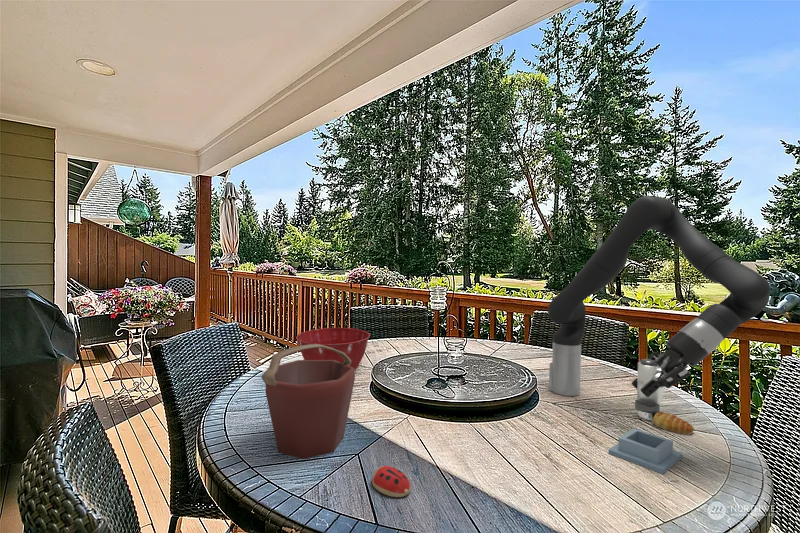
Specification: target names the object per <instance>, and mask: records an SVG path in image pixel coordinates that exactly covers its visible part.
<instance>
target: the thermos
mask: <svg viewBox="0 0 800 533" xmlns="http://www.w3.org/2000/svg"><path fill="white" fill-rule="evenodd" d="M658 369H659V365H658V364H656V361H654V360H650V359H648V358H642V359H640V361H638V362H637V375H636V376H637V377H636V378H637V389H636V400H634V408H635V409H636V410H637V411H638V412H639V411H642V412H646V413H659V412H660V404H659V403H658V389H657V390H656V391H655V392H654V393H653V394H652V395H650V396H649V397H646V396H645V395H644V394H643V393H642V392H641V388H643V387H644V386H645V385H646V384H647V383H648V382H649V381H651V380H653V378H654V377H655V376H656V374H657V373H658V372H657V370H658ZM653 381H654V380H653Z"/></svg>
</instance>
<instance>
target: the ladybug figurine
mask: <svg viewBox="0 0 800 533" xmlns="http://www.w3.org/2000/svg"><path fill="white" fill-rule="evenodd" d="M371 483H372V486H373V488H374V489H376V490H377V491H378V492H379V493H381V494H383V495H385V496H388V497H392V498H404V497H406V496H408V495H409V494H410V492H411V489H412V488H411V483H410V481H409V479H408V477H407V476H406V474H405V473H403V471H401V470H399V469H397V468H396V467H392V466H390V465H389V466H387V465H382V466H380V467H378V468H377V469H376V470H375V471H374V472H373V475H372V478H371Z"/></svg>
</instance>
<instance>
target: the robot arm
mask: <svg viewBox="0 0 800 533" xmlns="http://www.w3.org/2000/svg"><path fill="white" fill-rule="evenodd" d="M648 230H649V231H650V230H652V231H658V232H659V233H661V234H663V235H665V236H666V237H668V238H669V239H671V240H672V242H674V243H675V244H676V245H677V247H678V248H679V249H680V251H681V253H682V255H683V256H684V258H685V259H686V260H687V261H688V263H689V264H691V266H692V267H693V268H695V269H696V270H697V271H698V272H699V273H700V274H701V275H703V276H704V277H705V278H706V279H707V280H709V281H711V282H712V283H715V284H720V285H721V286H722V287H724V288H725V289H726V291H728V292H729V293H730V294H729V295H728V296H727V297H726V298H725V299H723V300H722V301H721V302H719V303H714V304H711V305H709V306H708V307H706V308H705V310H703V311H702V312H701V313H699V314H698V315H697V317H695V318H694V319H693V320H690V322H689V323H687V324H686V325H685V326H683V327H682V328H681V329H680V330H679V331H677V333H675V334H674V335H673V336H671V338H670V339H669V340H668V341H666V343H665V345H666V347H667V349H666V350H665V351H663V352H661V353H660V354H659V353H658V352H657V351H653V352H652V353H651V354H650V355H649V356H648V357H647V359H650V360H654V361H656V364H658V365H659V369H658V370H657V372H658V373H657V374H656V376H655V377H654V378H653V380H654V381H653V380H651V381H649V382H648V383H647V384H646V385H645V386H644V387H643V388H641V392H642V393H643V394H644V395H645V396H646V397H649V396H650V395H652V394H653V393H654V392H655V391H656V390H657V389H658V388H660V387H661V388H662V387H665V388H666V389H671V388H672V387H674V386H675V385H676V384H678V383H679V382H682V381H683V380H684V379H687V378H688V377H689V376H690V375H691V372H690V371H688V369H687V367H688V366H689V367H696V366H697V365H698V364H700V362H702V361H703V360H704V359H705V358H707V356H709V355H710V354H711V353H712V352H713V351H715V349H716V348H718V347H719V345H720V344H721V343H722V342H723V341H724V340H725V339H726V338H727V337H729V335H731V334H732V333H733V332H734V331H735V330H736V329H737V328H738V327H740V326H741V325H743V324H745V323H746V322H748V321H749V320H751V319H753V318H754V317H755V316H757V315H759V314H760V313H761V312H762V311H763V310H764V309H765V308H766V307H767V306H768V304H769V301H770V295H771V286H770V284H769V282H768V280H766V278H765V277H763V275H761V274H760V273H759V272H757V271H755V270H754V269H752V268H750V267H748V266H746V265H744V264H743V263H740V262H739V261H736V260H735V259H734V258H733V257H731V256H730V255H729V254H728V253H726V252H725V251H724V250H723V249H722V248H720V247H718V246H717V245H716V244H715V243H713V242H712V241H711V240H710V239H709V238H707V237H706V236H705V235H704V234H703V233H701V232H700V231H699V230H698V229H697V228H696V227H695V226H694V225H693V224H692V223H691V222H690V221H689V219H687V217H685V215H684V214H683V213H682V212H681V211H680V209H678V207H677V206H676V205H675V204H674V203H673V202H672V201H670V200H669V199H668V198H664V197H661V196H660V197H658V196H652V195H644V196H641V197H640V196H639V197H638V198H637V199H636V200H634V201H633V202H632V203H631V204H630V206H629V207H628V208H627V210H626V211H625V213H624V214H623V216H622V217H621V219H620V220H619V222H618V223H617V225H616V226H615V227H614V229H613V230H612V232H611V233H610V234H609V236H608V237H607V238H606V239H605V240H604V241H603V243H602V244H601V245H600V247H599V248H597V250H596V251H595V252H594V253H593V254H592V256H591V257H590V258H589V259H588V260H587V262H586V263H585V264H584V265H583V267H582V268H581V269H580V271H579V272H578V273H577V274H576V275H575V276H574V277H573V278H572V280H571V281H570V282H569V283H568V285H567V286H565V287H564V288H563V289H562V290H561V291H560V292H559V293H558V294H557V295H556V296H554V298H553V299H552V300H551V301H550V302H549V305H548V307H547V314H548V317H549V319H550V320H551V322H553V323H555V324H559V325H560V327H559V328H558V329H557V330H556V331H555V332H554V333H553V334H552V351H551V353H552V355H551V358H552V360H551V361H552V362H550V363H549V369H548V370H549V375H548V376H549V378H548V380H549V381H548V390H549V391H552V393H554V394H557V395H560V396H565V397H575V396H579V395H580V394H581V374H582V373H581V372H582V368H581V366H582V339H583V337H584V335H585V327H586V318H587V317H586V313H587V312H586V307H585V306H586V305H585V303H584V301H585V300H586V299H587V298H589V297H590V296H592V295H594V294H595V293H597V292H599V291H601V290H602V289H604V288H605V287H606V286H608V285H609V284H610V283H611V282H613V280H614V279H615V278H616V277H617V276H618V275H619V274H620V273H621V272H622V270H623V269H624V267H625V265H626V263H627V260H628V256H629V252H630V250H631V248H632V246H633V245H634V243H635V242H636V241H637V240H638V239H639V238H640V237H641V236H642V235H643V234H644V233H645V232H647V231H648ZM661 376H662V377H661ZM631 385H632V386H633V387H634V388H635V389H636V390H637V377H636V378H635V379H633V381H632V382H631Z"/></svg>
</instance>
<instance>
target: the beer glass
mask: <svg viewBox="0 0 800 533" xmlns="http://www.w3.org/2000/svg"><path fill="white" fill-rule="evenodd" d="M661 377H662V376H661ZM665 388H666V387H662V388H661V387H660V388H658V403H659V404H660V411H661V412H662V410H661V404H662V400H663V397H664V392H665ZM655 414H656V413H646V412H642V411H639V410H638V413H637V415H638V416H639V417H640V418H641V419H643V420H647V421H650V422H653V418H654V416H655Z"/></svg>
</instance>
